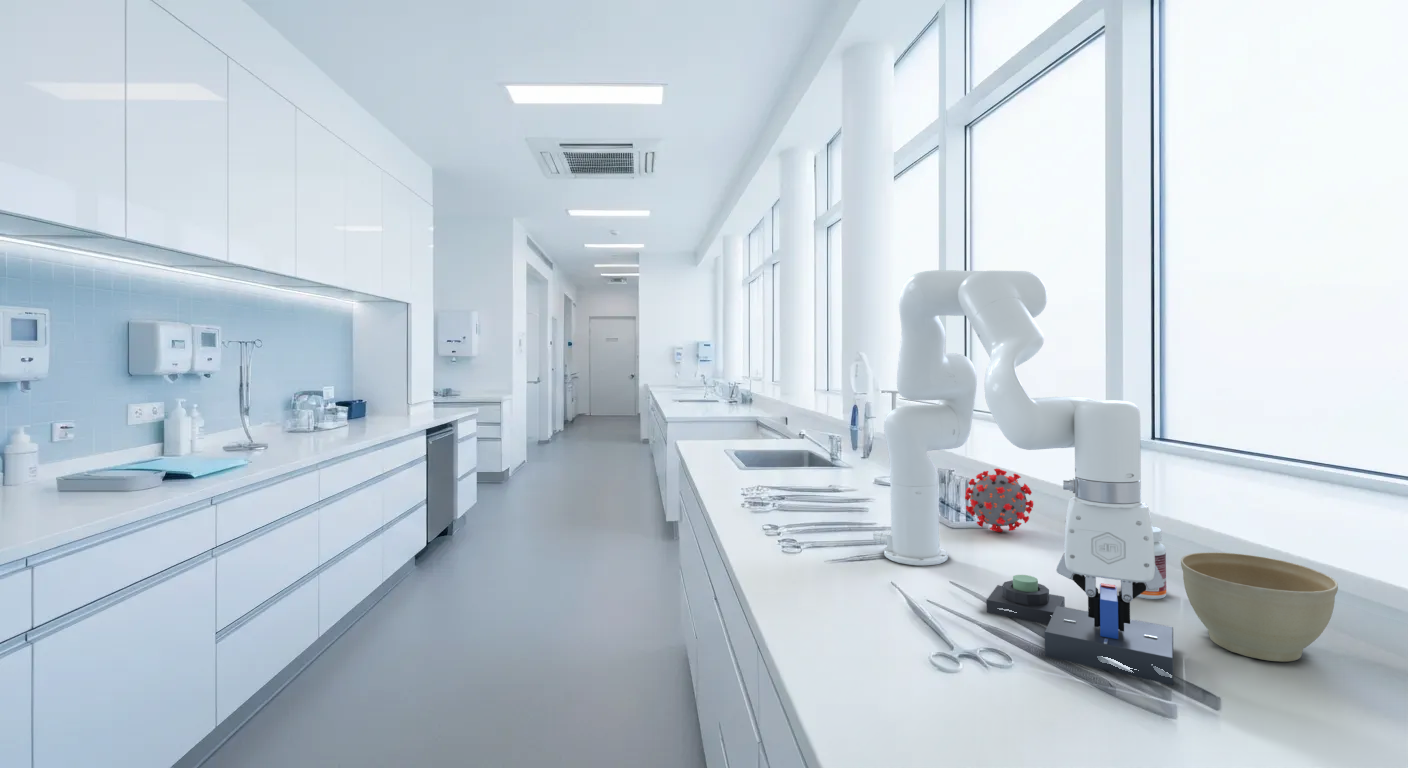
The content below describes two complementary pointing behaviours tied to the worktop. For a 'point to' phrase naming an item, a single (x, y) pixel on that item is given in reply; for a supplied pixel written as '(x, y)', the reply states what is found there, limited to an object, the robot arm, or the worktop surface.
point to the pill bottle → (1161, 566)
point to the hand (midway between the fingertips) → (1108, 624)
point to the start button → (1025, 583)
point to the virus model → (998, 500)
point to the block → (1024, 603)
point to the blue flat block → (1108, 611)
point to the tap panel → (1110, 644)
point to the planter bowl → (1258, 603)
